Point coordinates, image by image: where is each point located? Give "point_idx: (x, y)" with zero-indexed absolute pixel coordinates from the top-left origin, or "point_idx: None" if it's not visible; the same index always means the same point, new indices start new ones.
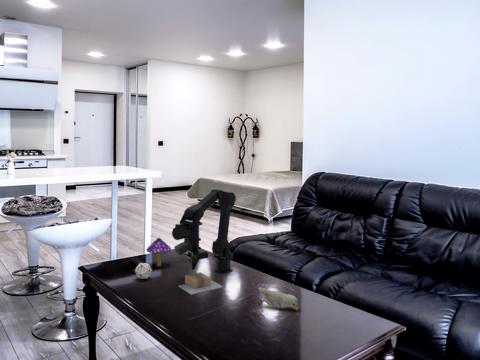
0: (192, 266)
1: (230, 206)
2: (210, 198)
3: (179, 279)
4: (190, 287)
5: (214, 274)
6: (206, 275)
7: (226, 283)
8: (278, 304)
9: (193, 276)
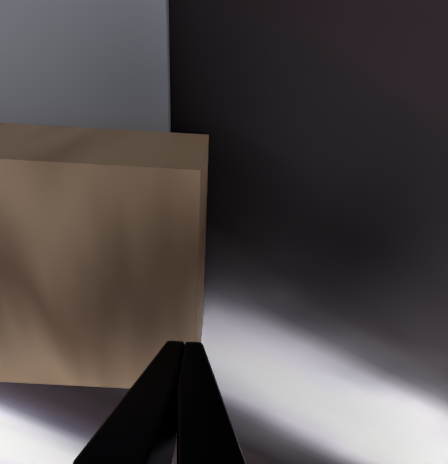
0: (125, 396)
1: None
2: None
3: (406, 163)
4: (10, 103)
5: (267, 450)
6: (34, 383)
7: (21, 416)
8: None
9: (69, 248)
